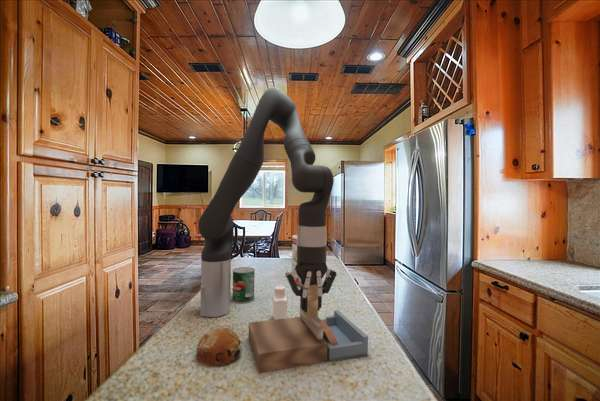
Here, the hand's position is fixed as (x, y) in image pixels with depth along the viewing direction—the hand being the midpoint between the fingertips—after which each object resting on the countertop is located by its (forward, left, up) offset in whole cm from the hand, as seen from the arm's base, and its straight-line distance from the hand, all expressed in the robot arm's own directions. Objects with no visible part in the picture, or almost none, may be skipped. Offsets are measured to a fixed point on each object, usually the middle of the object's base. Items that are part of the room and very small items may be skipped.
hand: (310, 310), depth 74 cm
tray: (+7, 0, -9) cm, 11 cm away
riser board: (-7, 0, -9) cm, 11 cm away
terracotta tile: (+3, -3, -6) cm, 7 cm away
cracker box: (+14, +48, -9) cm, 51 cm away
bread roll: (-22, +2, -9) cm, 24 cm away
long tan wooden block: (0, 0, -4) cm, 4 cm away
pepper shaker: (-4, +18, -9) cm, 21 cm away
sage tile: (+3, +4, -6) cm, 8 cm away
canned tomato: (-13, +37, -9) cm, 40 cm away
